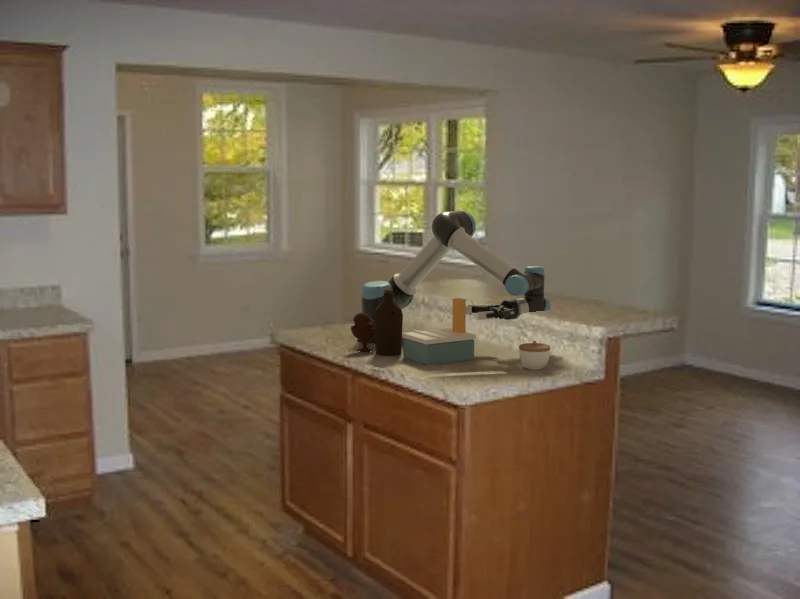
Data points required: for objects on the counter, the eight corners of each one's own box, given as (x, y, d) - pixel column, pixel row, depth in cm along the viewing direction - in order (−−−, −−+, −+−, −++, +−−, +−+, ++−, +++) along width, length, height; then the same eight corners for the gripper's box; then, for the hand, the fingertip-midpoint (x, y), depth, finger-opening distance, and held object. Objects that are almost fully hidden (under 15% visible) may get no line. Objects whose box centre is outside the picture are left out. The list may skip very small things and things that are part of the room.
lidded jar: (531, 363, 319) (532, 337, 317) (556, 367, 311) (556, 341, 310) (512, 367, 311) (512, 341, 310) (536, 372, 304) (537, 345, 302)
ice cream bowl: (375, 354, 335) (375, 314, 333) (347, 353, 338) (346, 314, 336) (382, 349, 346) (381, 310, 344) (354, 348, 348) (353, 310, 346)
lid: (402, 337, 324) (402, 300, 322) (449, 332, 334) (449, 296, 332) (426, 344, 310) (426, 305, 308) (475, 339, 320) (475, 301, 318)
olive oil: (408, 355, 333) (408, 288, 329) (389, 360, 325) (389, 291, 321) (387, 352, 339) (387, 286, 336) (368, 356, 331) (367, 289, 328)
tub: (403, 360, 325) (403, 338, 324) (449, 354, 335) (449, 333, 334) (426, 367, 311) (426, 345, 310) (474, 361, 321) (474, 339, 320)
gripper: (534, 323, 327) (487, 328, 316) (493, 314, 348) (448, 319, 337) (535, 303, 326) (487, 307, 315) (493, 295, 347) (448, 299, 336)
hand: (467, 313), depth 326 cm, fingers open, 13 cm apart
